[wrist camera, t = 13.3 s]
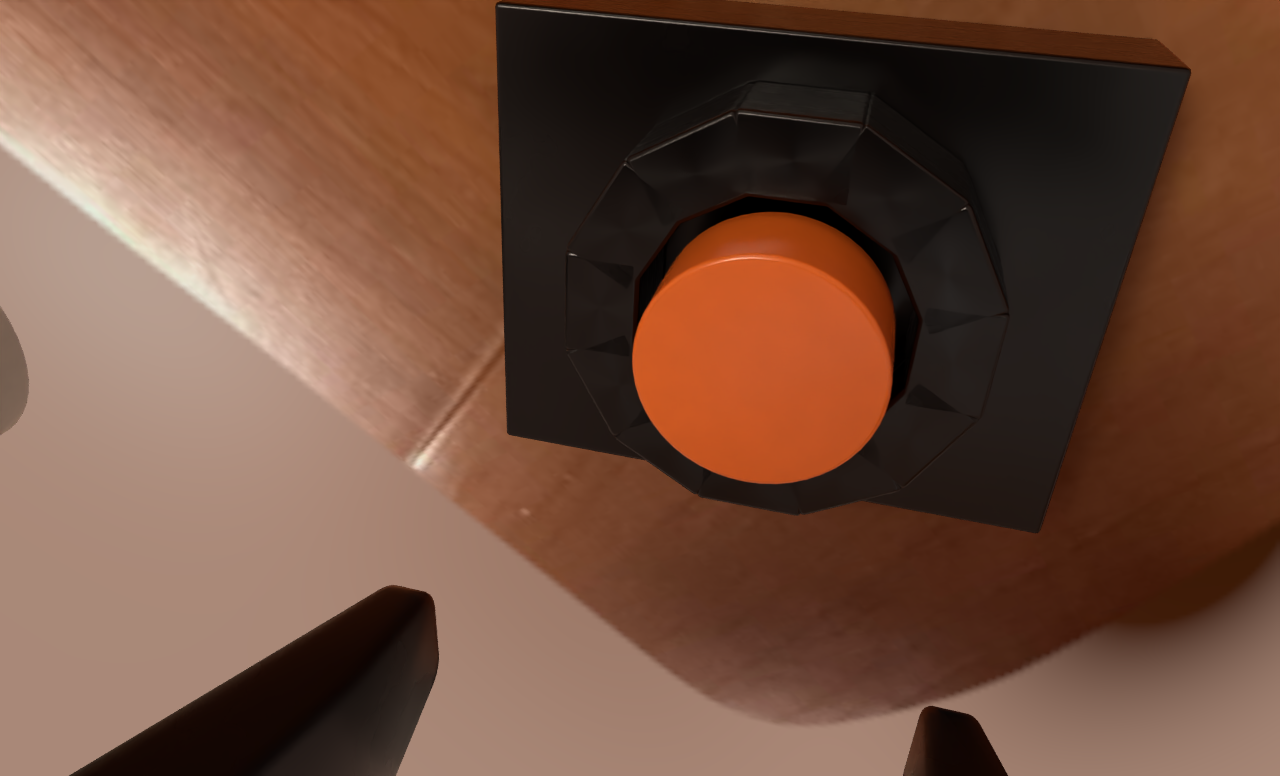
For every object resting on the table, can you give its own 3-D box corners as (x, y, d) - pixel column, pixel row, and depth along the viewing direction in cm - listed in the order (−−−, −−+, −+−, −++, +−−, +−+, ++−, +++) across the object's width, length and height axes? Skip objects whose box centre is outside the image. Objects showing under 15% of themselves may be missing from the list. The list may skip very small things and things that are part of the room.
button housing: (543, 382, 21) (469, 488, 17) (541, -18, 17) (444, 20, 13) (1028, 466, 19) (1051, 604, 15) (1160, 39, 15) (1230, 99, 11)
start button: (653, 403, 16) (626, 461, 14) (666, 194, 14) (636, 237, 13) (873, 442, 15) (868, 507, 14) (917, 228, 13) (916, 276, 12)
